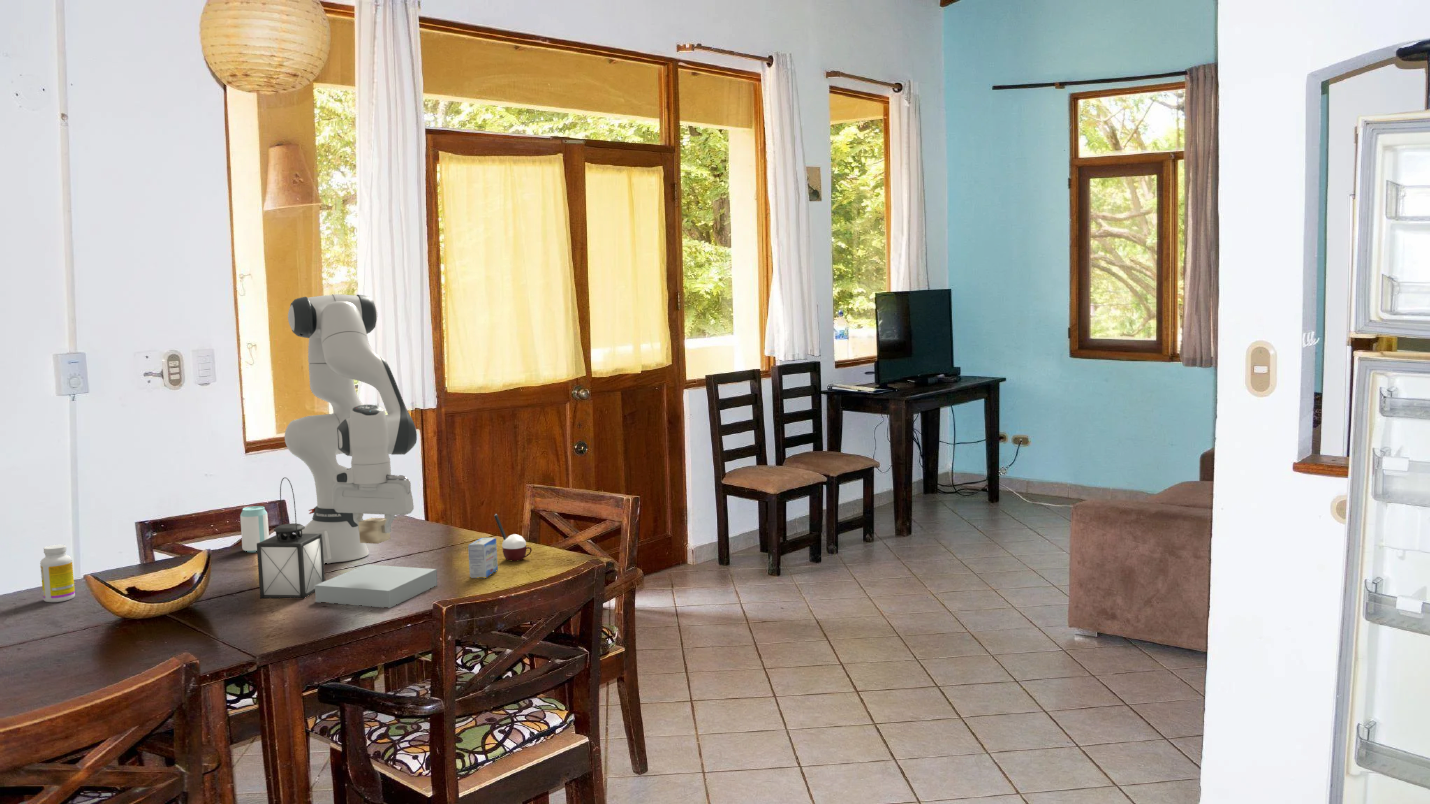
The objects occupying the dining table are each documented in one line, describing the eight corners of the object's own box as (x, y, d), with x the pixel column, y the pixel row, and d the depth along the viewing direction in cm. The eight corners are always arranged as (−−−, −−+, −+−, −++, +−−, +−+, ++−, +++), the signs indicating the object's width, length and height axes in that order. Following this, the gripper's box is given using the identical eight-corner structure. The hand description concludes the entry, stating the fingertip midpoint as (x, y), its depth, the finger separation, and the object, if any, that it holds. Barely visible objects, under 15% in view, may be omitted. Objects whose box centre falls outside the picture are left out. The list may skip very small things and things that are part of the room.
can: (237, 550, 323) (235, 508, 321) (261, 546, 328) (259, 504, 327) (250, 554, 318) (247, 511, 317) (274, 549, 323) (271, 507, 322)
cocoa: (534, 560, 306) (535, 515, 305) (520, 564, 301) (520, 519, 300) (505, 555, 311) (506, 511, 309) (491, 559, 305) (491, 514, 304)
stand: (315, 602, 268) (314, 585, 268) (367, 580, 287) (366, 564, 287) (389, 608, 262) (388, 590, 262) (437, 585, 281) (436, 569, 281)
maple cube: (359, 542, 272) (358, 521, 271) (372, 538, 276) (371, 517, 276) (378, 543, 270) (376, 522, 270) (390, 539, 275) (389, 518, 274)
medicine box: (486, 579, 286) (484, 544, 285) (469, 578, 287) (467, 544, 286) (498, 571, 294) (496, 537, 293) (481, 570, 295) (480, 537, 294)
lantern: (282, 586, 284) (275, 473, 281) (326, 586, 282) (318, 473, 279) (259, 599, 273) (251, 482, 270) (304, 599, 271) (296, 481, 268)
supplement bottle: (81, 596, 278) (77, 544, 277) (58, 604, 272) (53, 550, 270) (60, 594, 280) (56, 542, 279) (36, 602, 274) (32, 549, 273)
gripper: (417, 473, 271) (420, 531, 273) (343, 471, 278) (346, 527, 279) (402, 477, 265) (405, 536, 267) (326, 475, 272) (330, 533, 273)
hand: (374, 532), depth 273 cm, fingers closed on maple cube, 5 cm apart
